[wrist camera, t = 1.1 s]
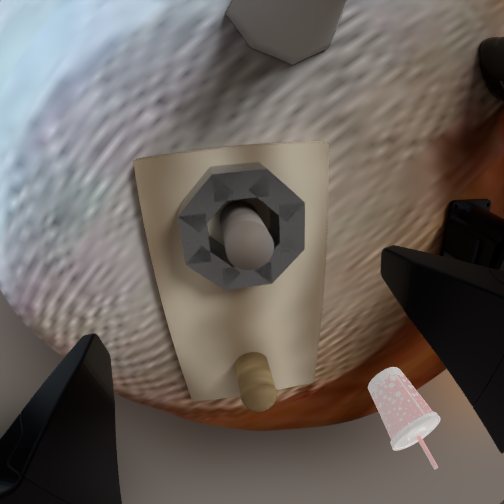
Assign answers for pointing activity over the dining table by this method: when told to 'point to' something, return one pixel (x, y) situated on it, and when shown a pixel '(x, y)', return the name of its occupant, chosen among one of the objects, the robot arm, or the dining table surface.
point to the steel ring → (232, 188)
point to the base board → (246, 307)
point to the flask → (287, 25)
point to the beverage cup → (402, 410)
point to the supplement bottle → (493, 65)
